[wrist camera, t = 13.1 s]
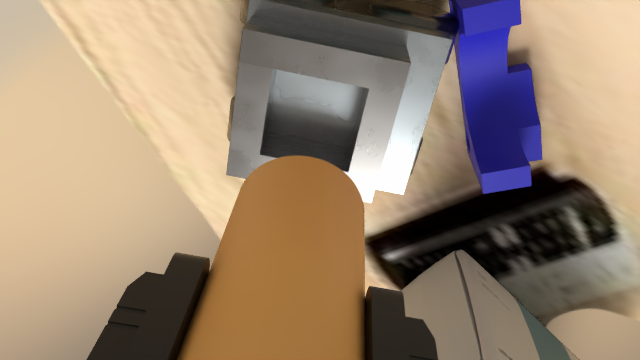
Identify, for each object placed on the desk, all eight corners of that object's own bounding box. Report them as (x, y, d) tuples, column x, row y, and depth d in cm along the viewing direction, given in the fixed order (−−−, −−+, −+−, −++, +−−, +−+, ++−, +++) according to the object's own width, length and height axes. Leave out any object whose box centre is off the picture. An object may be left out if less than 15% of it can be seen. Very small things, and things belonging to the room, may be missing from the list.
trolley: (453, 9, 35) (483, 57, 26) (409, 149, 40) (423, 228, 31) (253, -33, 34) (217, 2, 25) (236, 115, 39) (201, 185, 31)
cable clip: (530, 140, 39) (556, 181, 34) (467, 151, 40) (483, 193, 35) (519, -30, 33) (549, -11, 28) (446, -13, 34) (462, 9, 29)
